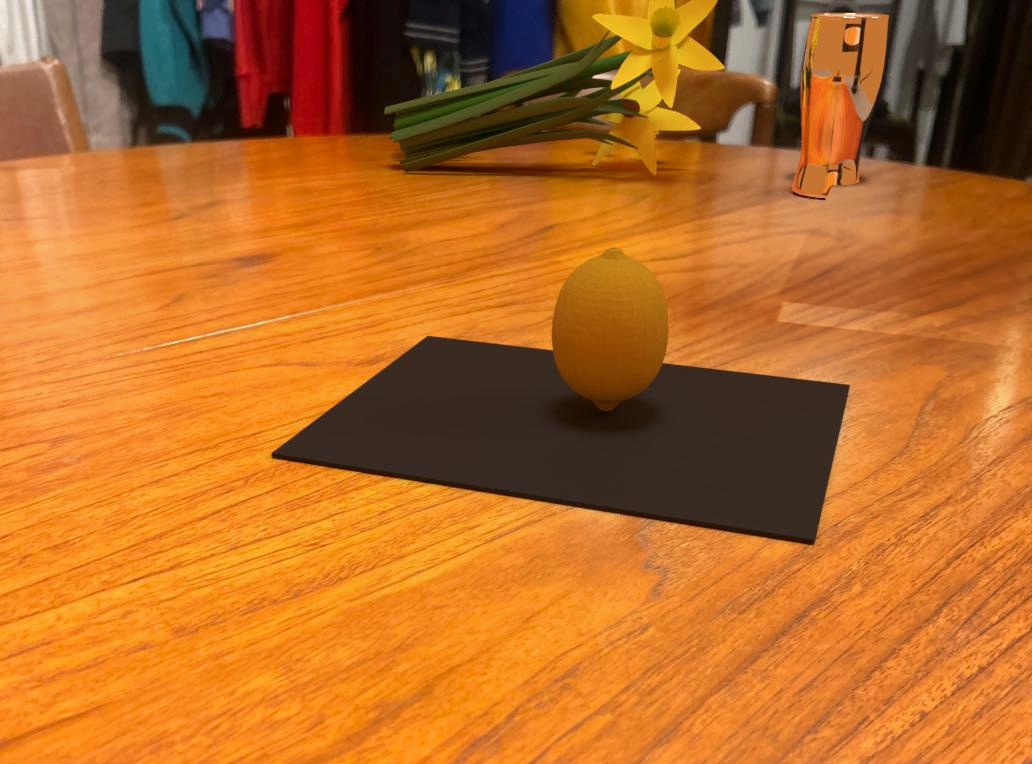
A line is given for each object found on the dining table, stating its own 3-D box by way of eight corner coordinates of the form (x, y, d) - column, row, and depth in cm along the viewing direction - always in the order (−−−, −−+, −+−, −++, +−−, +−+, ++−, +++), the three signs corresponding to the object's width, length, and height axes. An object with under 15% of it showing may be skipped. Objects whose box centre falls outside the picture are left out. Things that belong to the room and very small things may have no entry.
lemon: (629, 384, 57) (639, 229, 53) (682, 423, 52) (697, 256, 49) (532, 398, 55) (534, 239, 51) (578, 439, 51) (585, 268, 47)
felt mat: (849, 388, 57) (849, 384, 57) (814, 544, 42) (814, 539, 42) (427, 338, 64) (427, 335, 64) (271, 457, 50) (271, 452, 49)
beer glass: (868, 201, 98) (898, 17, 91) (789, 199, 99) (812, 16, 92) (858, 186, 104) (885, 12, 97) (783, 184, 105) (804, 12, 98)
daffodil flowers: (428, 158, 124) (739, 73, 114) (422, 252, 116) (755, 170, 106) (367, 29, 110) (714, -79, 100) (356, 127, 103) (730, 20, 93)
